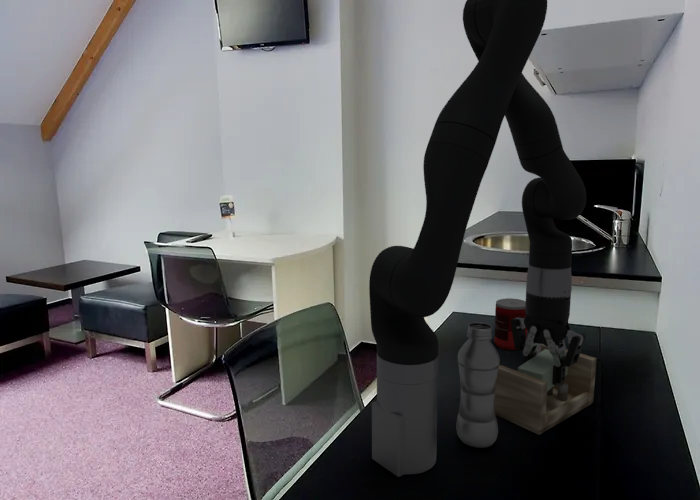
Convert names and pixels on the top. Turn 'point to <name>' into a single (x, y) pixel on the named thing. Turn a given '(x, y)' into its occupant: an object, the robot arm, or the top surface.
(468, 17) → the robot arm
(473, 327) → the plastic bottle
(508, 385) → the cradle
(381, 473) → the top surface
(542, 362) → the grey-green rectangular block
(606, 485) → the top surface
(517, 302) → the canned food
